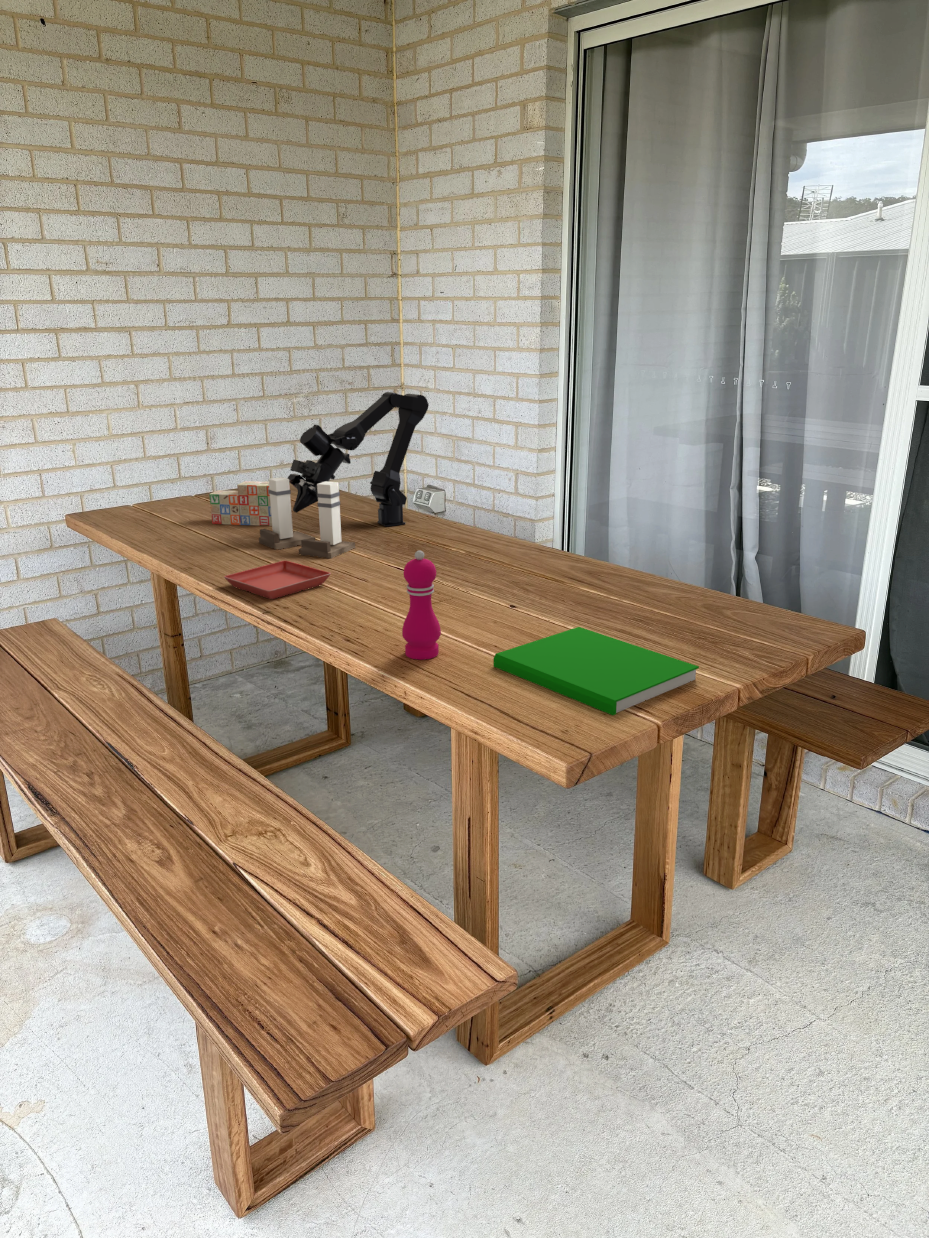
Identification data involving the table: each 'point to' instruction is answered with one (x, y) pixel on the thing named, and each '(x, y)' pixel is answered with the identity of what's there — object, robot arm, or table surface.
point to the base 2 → (324, 548)
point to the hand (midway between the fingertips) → (294, 511)
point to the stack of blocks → (242, 505)
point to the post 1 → (281, 507)
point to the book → (595, 669)
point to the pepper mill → (420, 610)
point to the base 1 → (274, 542)
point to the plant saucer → (278, 579)
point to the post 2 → (329, 512)
